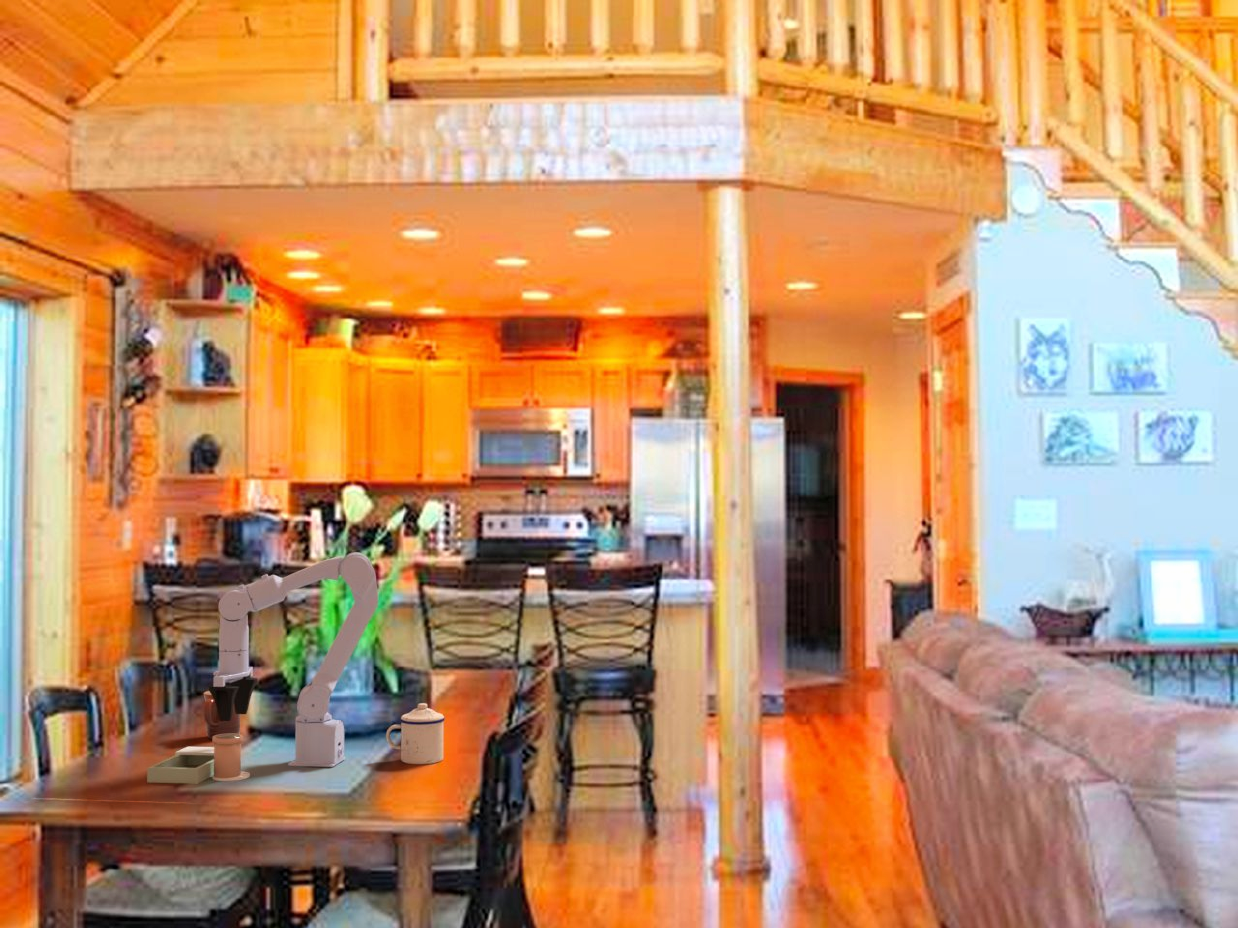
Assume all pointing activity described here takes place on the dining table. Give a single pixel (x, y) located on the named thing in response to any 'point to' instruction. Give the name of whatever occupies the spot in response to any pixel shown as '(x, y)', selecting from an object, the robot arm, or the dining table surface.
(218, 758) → the pot
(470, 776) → the dining table surface
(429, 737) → the teacup with lid
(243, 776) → the saucer
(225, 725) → the mug
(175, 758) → the box with sliding lid
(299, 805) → the dining table surface
